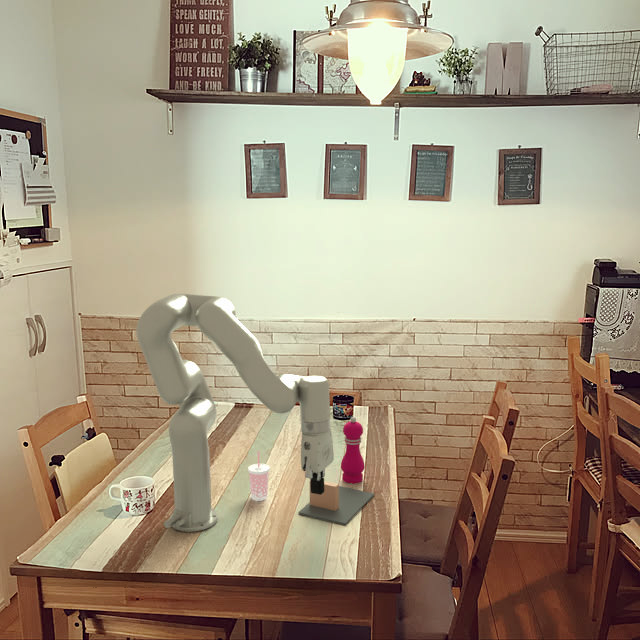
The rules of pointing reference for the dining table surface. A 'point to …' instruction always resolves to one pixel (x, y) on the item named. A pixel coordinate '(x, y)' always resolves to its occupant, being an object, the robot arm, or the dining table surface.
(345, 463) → the pepper mill
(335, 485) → the tile
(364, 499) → the mat
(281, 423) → the dining table surface
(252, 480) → the beverage cup
